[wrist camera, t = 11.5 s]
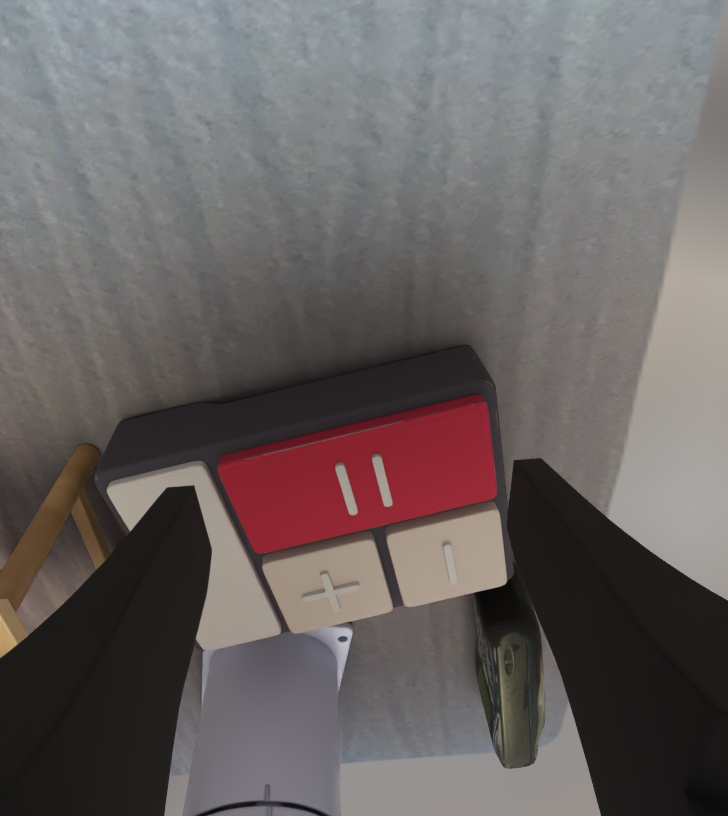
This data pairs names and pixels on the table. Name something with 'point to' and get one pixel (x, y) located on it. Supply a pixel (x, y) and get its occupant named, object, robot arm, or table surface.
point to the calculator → (330, 494)
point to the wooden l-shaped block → (9, 628)
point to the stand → (55, 527)
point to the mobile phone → (510, 670)
